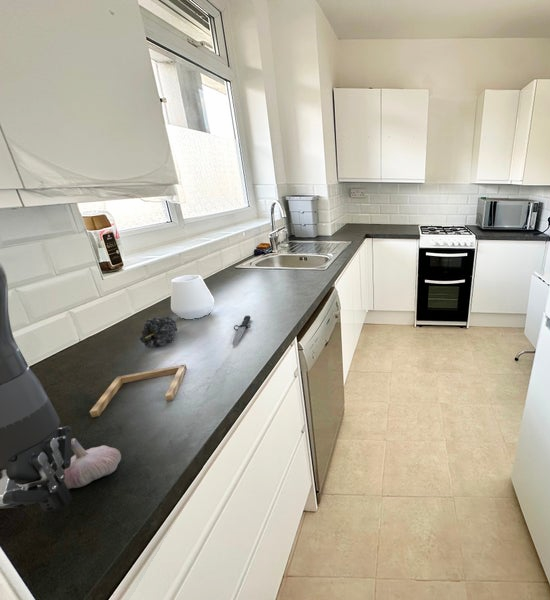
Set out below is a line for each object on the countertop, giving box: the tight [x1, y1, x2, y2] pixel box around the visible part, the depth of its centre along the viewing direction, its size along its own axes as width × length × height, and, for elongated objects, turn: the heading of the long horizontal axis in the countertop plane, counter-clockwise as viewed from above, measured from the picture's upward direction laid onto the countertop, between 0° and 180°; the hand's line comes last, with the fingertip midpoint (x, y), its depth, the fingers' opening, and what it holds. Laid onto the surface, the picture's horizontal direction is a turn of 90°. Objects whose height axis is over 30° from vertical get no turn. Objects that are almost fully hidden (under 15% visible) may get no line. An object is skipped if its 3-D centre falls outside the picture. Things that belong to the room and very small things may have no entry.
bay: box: [89, 364, 188, 418], centre depth 73 cm, size 13×14×2 cm
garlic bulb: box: [64, 438, 122, 490], centre depth 50 cm, size 8×7×8 cm
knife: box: [231, 315, 252, 346], centre depth 100 cm, size 19×2×5 cm
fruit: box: [139, 315, 178, 348], centre depth 95 cm, size 9×8×15 cm
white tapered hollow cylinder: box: [170, 274, 215, 319], centre depth 111 cm, size 13×13×14 cm
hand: (60, 507), depth 45 cm, fingers closed
